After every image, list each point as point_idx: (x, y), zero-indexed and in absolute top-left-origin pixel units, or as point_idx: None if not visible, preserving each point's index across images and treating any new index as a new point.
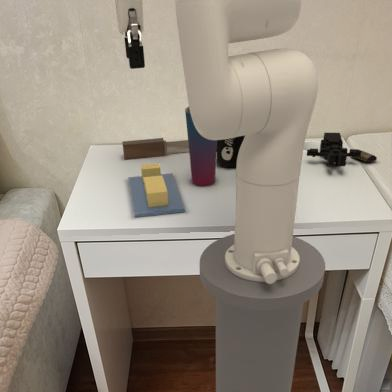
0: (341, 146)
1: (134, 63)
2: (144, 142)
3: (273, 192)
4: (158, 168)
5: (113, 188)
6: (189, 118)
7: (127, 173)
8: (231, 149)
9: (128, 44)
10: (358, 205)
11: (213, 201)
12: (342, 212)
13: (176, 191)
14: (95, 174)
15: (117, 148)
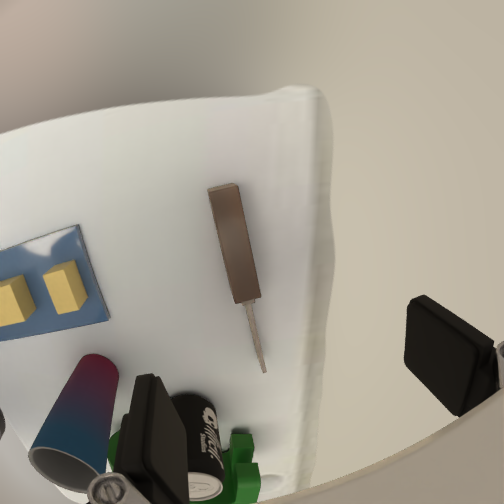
0: None
1: (125, 417)
2: (225, 253)
3: None
4: (56, 310)
5: (43, 198)
6: (34, 441)
7: (118, 213)
8: None
9: (450, 349)
10: (86, 495)
11: (35, 380)
12: None
13: (34, 331)
14: (113, 133)
15: (289, 157)
